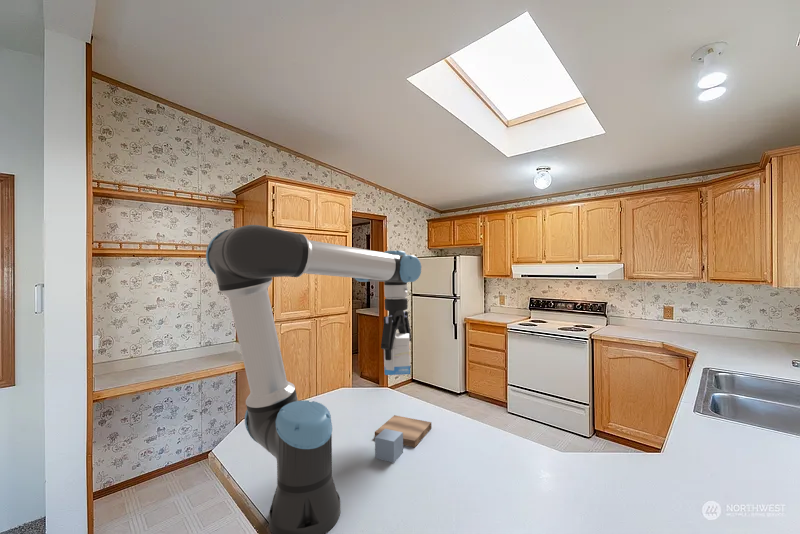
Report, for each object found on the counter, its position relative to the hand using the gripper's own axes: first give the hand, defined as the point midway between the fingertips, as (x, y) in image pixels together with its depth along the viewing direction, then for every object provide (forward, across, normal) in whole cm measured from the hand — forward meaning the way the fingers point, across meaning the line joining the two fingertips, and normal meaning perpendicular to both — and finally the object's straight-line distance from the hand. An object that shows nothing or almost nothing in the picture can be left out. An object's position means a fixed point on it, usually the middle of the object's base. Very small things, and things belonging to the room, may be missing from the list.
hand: (397, 365), depth 115 cm
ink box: (+2, 0, 0) cm, 2 cm away
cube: (+22, -13, -3) cm, 26 cm away
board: (+22, +1, -1) cm, 22 cm away
